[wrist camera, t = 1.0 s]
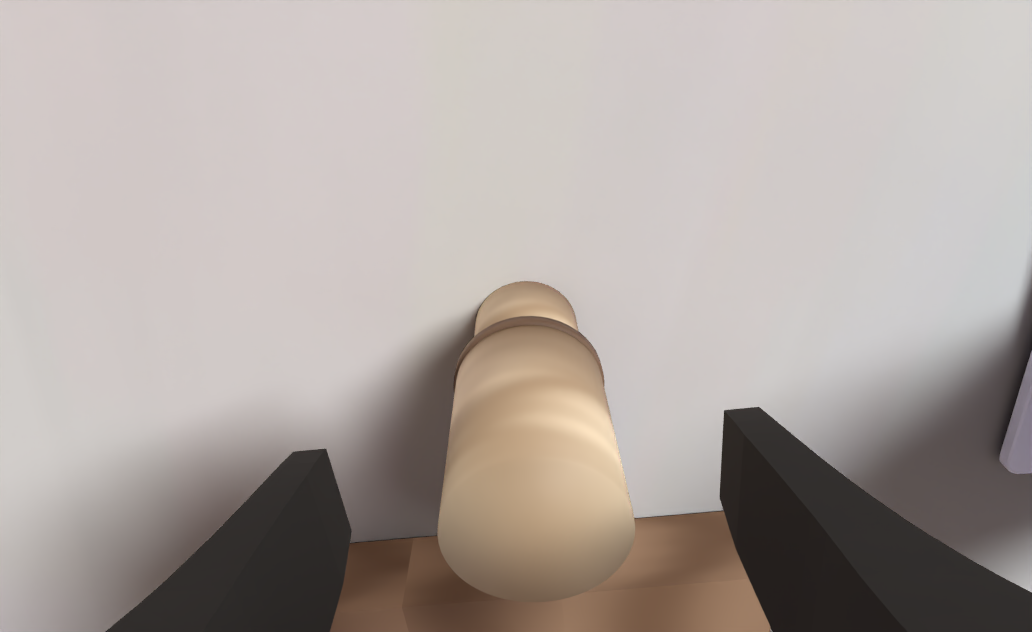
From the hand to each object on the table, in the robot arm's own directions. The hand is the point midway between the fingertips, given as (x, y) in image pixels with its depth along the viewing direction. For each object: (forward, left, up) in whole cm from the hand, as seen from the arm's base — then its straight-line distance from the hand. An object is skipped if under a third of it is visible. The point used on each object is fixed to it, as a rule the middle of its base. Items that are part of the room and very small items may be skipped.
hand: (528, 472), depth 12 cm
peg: (0, 0, -6) cm, 6 cm away
